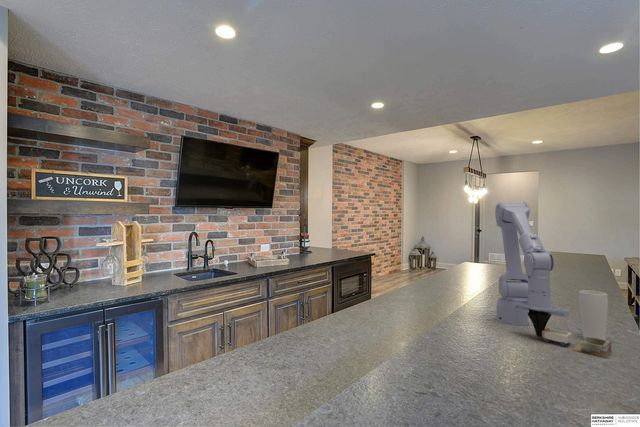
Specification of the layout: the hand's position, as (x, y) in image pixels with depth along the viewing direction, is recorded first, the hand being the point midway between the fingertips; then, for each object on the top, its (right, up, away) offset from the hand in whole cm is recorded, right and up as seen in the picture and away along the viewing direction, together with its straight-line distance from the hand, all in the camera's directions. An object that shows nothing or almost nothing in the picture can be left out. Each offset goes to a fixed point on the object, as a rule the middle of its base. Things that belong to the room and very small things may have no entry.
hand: (539, 336), depth 98 cm
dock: (+4, -1, -5) cm, 6 cm away
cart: (+3, -1, -3) cm, 4 cm away
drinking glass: (+17, -2, 0) cm, 17 cm away
